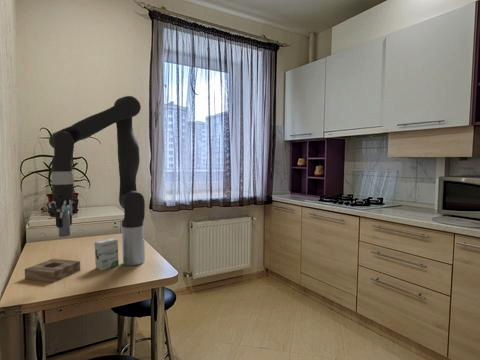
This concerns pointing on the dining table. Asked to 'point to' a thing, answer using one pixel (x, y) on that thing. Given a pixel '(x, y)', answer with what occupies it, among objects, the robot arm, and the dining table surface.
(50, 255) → the dining table surface
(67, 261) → the socket
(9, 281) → the dining table surface
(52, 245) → the dining table surface
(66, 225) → the peg
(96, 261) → the ink box
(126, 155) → the robot arm
